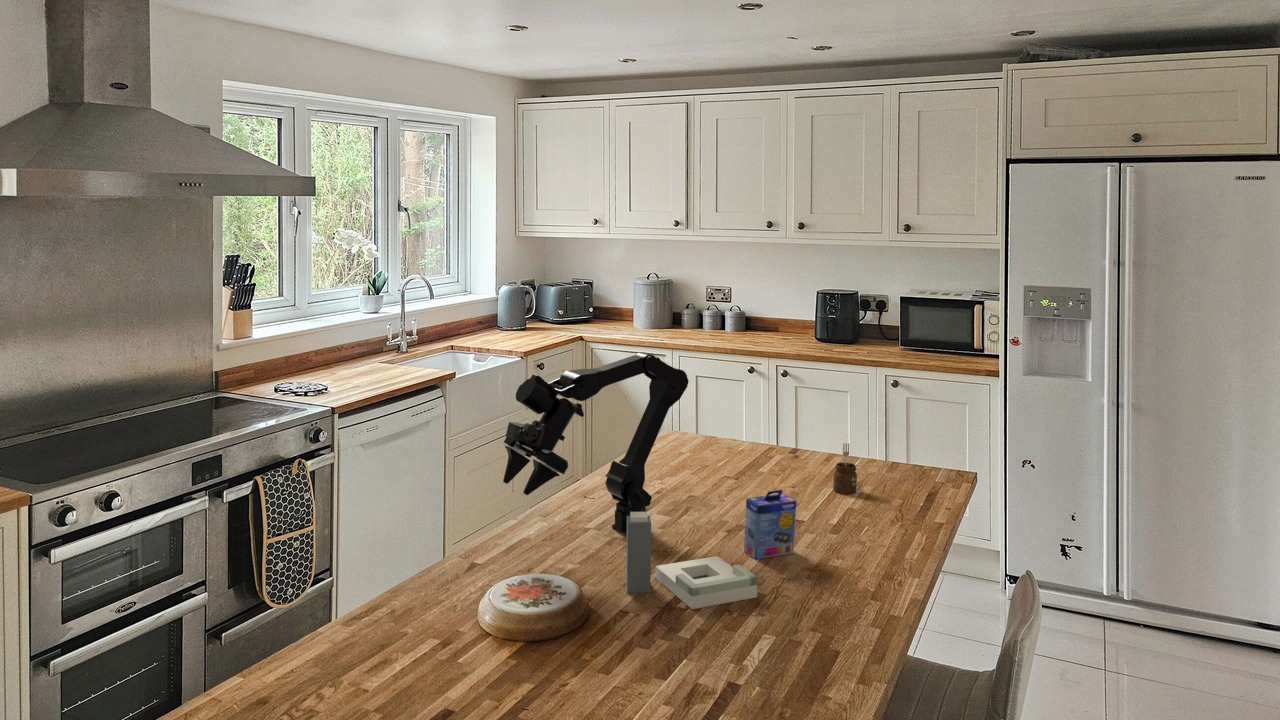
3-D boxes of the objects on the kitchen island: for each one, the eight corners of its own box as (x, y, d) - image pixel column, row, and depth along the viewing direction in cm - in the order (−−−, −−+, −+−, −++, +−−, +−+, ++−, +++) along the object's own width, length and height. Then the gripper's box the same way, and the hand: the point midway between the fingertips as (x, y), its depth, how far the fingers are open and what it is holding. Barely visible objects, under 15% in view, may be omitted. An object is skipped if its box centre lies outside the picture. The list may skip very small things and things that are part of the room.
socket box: (655, 577, 195) (655, 558, 194) (716, 567, 201) (717, 548, 200) (691, 609, 181) (692, 588, 180) (756, 597, 186) (757, 577, 186)
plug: (626, 583, 192) (626, 510, 190) (648, 583, 192) (649, 510, 190) (627, 592, 188) (627, 518, 185) (650, 592, 188) (651, 518, 185)
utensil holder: (833, 493, 250) (835, 448, 248) (832, 486, 257) (834, 442, 255) (856, 495, 250) (859, 450, 247) (855, 488, 256) (857, 443, 254)
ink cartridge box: (755, 560, 205) (758, 494, 202) (742, 551, 210) (744, 487, 207) (795, 554, 209) (798, 489, 206) (781, 545, 214) (783, 482, 211)
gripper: (505, 398, 210) (467, 460, 207) (547, 415, 195) (506, 483, 192) (541, 422, 216) (505, 483, 213) (585, 440, 201) (546, 506, 198)
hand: (514, 488), depth 204 cm, fingers open, 9 cm apart
